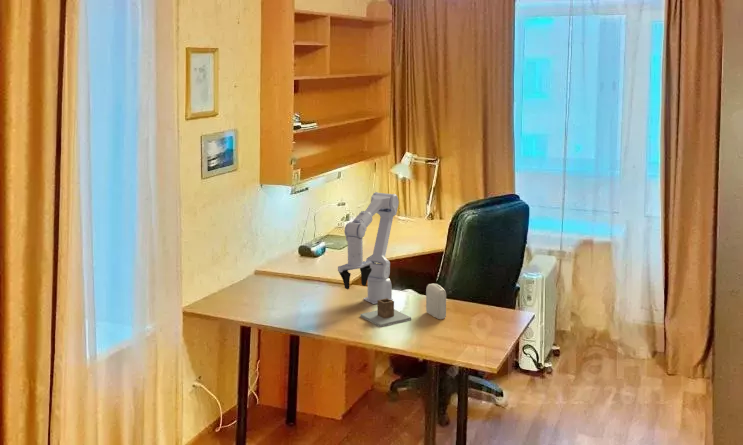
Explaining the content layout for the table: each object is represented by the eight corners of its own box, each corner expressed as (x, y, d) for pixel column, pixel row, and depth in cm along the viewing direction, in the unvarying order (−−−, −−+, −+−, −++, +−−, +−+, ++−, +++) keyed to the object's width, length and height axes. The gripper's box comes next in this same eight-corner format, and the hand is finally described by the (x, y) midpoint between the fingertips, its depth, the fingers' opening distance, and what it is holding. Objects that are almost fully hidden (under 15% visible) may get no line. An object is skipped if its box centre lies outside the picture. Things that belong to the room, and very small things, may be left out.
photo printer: (424, 312, 329) (424, 281, 326) (434, 310, 330) (434, 280, 328) (437, 320, 320) (438, 289, 317) (447, 318, 321) (448, 287, 319)
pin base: (390, 309, 331) (390, 298, 330) (411, 319, 320) (411, 307, 319) (360, 316, 324) (360, 304, 323) (380, 327, 313) (380, 314, 311)
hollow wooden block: (387, 313, 325) (387, 298, 323) (393, 316, 321) (393, 301, 320) (377, 315, 322) (377, 300, 321) (384, 318, 319) (384, 303, 317)
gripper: (344, 258, 316) (344, 292, 319) (376, 252, 324) (376, 286, 327) (334, 254, 322) (335, 288, 325) (366, 248, 330) (366, 281, 333)
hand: (355, 287), depth 326 cm, fingers open, 7 cm apart
